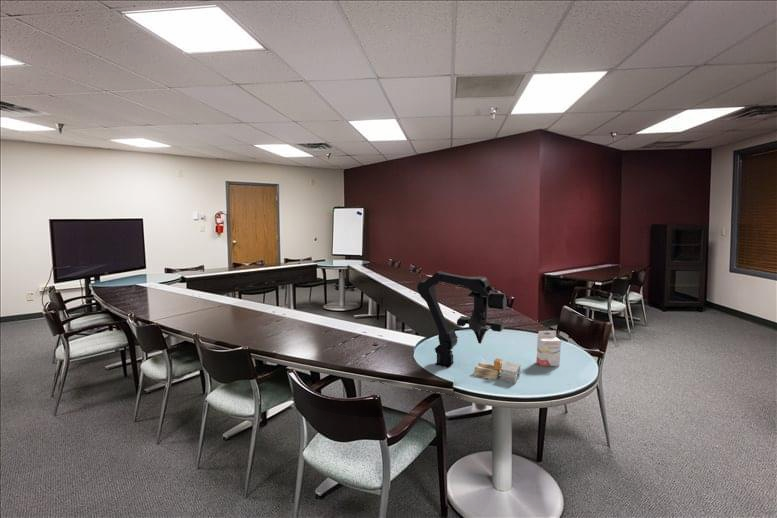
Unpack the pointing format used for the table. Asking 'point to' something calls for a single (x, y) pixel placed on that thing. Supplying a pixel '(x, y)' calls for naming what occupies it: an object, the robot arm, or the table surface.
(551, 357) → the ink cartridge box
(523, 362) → the table surface
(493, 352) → the table surface
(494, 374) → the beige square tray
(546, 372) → the table surface
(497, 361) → the lock bolt
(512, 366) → the block
